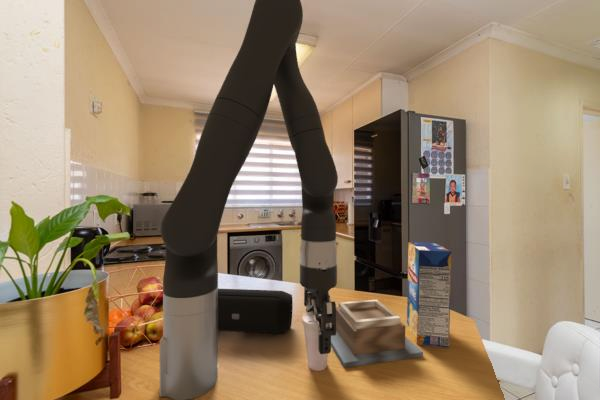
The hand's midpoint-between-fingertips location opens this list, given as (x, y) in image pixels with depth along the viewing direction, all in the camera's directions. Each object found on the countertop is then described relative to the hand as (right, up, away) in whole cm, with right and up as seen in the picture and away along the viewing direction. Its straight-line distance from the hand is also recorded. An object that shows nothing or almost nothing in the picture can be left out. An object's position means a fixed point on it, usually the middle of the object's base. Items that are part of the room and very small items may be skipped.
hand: (318, 340), depth 54 cm
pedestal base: (+12, -5, +9) cm, 16 cm away
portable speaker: (-19, -5, +14) cm, 24 cm away
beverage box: (+28, -5, +12) cm, 31 cm away
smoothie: (0, -5, 0) cm, 5 cm away
